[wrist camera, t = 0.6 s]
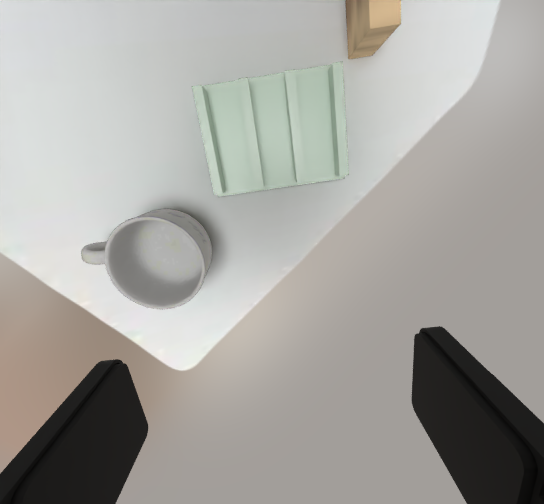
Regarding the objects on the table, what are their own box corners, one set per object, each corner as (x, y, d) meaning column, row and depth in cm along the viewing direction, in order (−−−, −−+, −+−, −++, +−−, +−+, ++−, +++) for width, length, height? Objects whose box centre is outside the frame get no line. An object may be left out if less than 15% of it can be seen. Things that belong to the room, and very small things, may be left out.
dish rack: (198, 89, 31) (189, 81, 28) (336, 66, 30) (343, 55, 27) (219, 196, 34) (214, 199, 31) (343, 178, 34) (349, 179, 31)
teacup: (227, 219, 35) (214, 234, 28) (208, 291, 38) (192, 322, 31) (119, 186, 34) (75, 193, 27) (109, 264, 37) (67, 289, 30)
